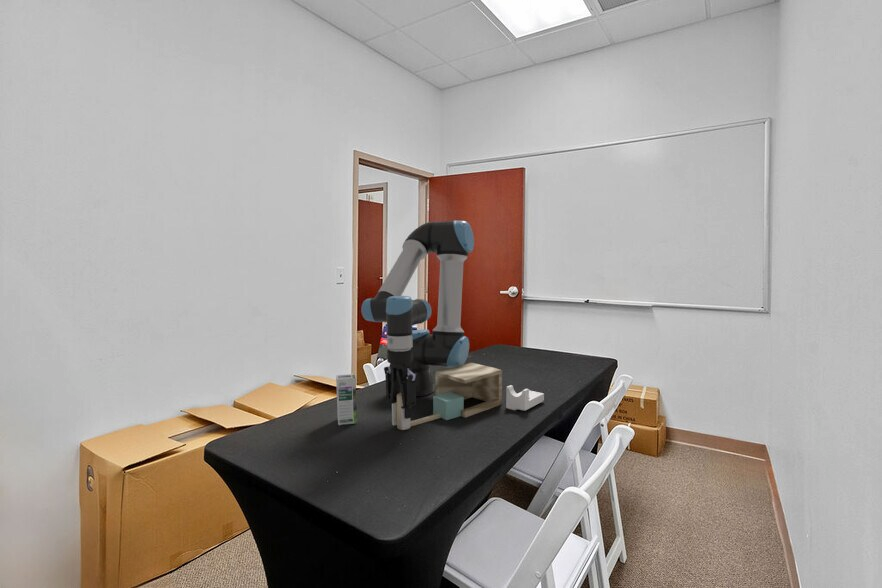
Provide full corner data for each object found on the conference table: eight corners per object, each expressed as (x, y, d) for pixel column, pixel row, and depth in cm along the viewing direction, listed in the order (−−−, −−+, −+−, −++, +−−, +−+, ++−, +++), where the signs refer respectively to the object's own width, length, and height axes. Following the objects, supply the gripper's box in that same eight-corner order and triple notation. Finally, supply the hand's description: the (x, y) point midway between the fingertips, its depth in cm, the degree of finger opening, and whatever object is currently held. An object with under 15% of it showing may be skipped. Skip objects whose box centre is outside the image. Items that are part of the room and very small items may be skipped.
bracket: (524, 413, 141) (524, 390, 140) (506, 408, 146) (506, 386, 145) (543, 403, 151) (544, 382, 150) (525, 399, 155) (526, 378, 155)
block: (392, 425, 131) (391, 393, 130) (450, 409, 145) (449, 380, 144) (404, 432, 125) (404, 399, 125) (463, 415, 139) (463, 384, 138)
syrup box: (338, 425, 131) (336, 379, 130) (337, 418, 137) (336, 374, 136) (357, 423, 133) (356, 377, 131) (355, 417, 138) (354, 372, 137)
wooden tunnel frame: (435, 406, 147) (435, 371, 146) (472, 395, 159) (472, 362, 158) (465, 417, 137) (465, 379, 136) (501, 404, 149) (502, 369, 148)
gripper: (373, 346, 131) (374, 421, 132) (407, 355, 118) (408, 438, 120) (393, 343, 136) (394, 415, 137) (428, 351, 123) (429, 430, 125)
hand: (401, 425), depth 129 cm, fingers closed on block, 4 cm apart
